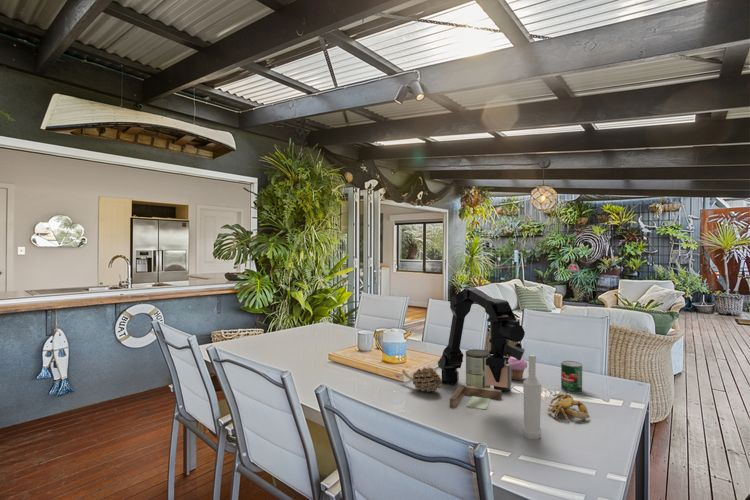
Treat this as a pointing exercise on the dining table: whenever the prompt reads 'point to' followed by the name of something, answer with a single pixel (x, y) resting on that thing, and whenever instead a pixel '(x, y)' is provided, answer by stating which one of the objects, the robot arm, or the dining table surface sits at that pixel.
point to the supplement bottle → (503, 387)
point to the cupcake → (517, 368)
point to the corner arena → (474, 391)
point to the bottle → (532, 402)
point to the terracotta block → (504, 378)
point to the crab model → (568, 406)
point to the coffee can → (476, 368)
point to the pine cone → (425, 379)
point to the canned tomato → (571, 377)
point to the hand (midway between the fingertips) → (498, 380)
